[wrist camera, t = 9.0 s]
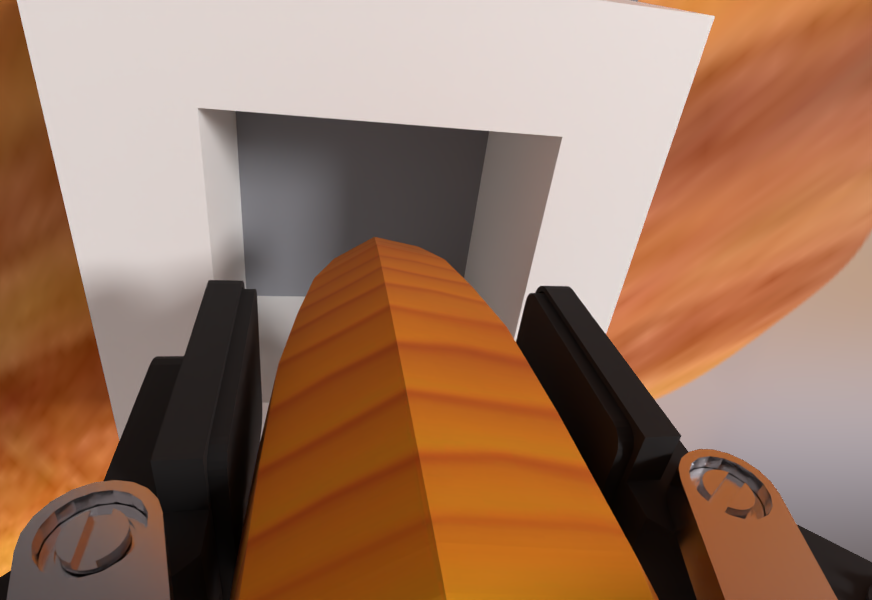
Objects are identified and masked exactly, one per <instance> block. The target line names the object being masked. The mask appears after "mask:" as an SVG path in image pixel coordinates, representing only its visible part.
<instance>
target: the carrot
mask: <svg viewBox="0 0 872 600" xmlns="http://www.w3.org/2000/svg"><path fill="white" fill-rule="evenodd" d="M230 600H659V599H658V597H657V595H656V593H655V591H654V589H653V587H652V585H651V583H650V581H649V580H648V578H647V576H646V574H645V572H644V570H643V568H642V566H641V564H640V563H639V561H638V559H637V557H636V555H635V553H634V551H633V549H632V548H631V546H630V544H629V542H628V540H627V538H626V537H625V535H624V533H623V531H622V529H621V527H620V526H619V524H618V522H617V520H616V518H615V516H614V515H613V513H612V511H611V509H610V507H609V505H608V504H607V502H606V500H605V498H604V496H603V494H602V493H601V491H600V489H599V487H598V485H597V483H596V482H595V480H594V478H593V476H592V474H591V473H590V471H589V469H588V467H587V465H586V463H585V462H584V460H583V458H582V456H581V454H580V452H579V451H578V449H577V447H576V445H575V443H574V441H573V440H572V438H571V436H570V434H569V432H568V430H567V429H566V427H565V425H564V423H563V421H562V419H561V418H560V416H559V414H558V412H557V410H556V409H555V407H554V405H553V404H552V402H551V400H550V399H549V397H548V395H547V394H546V392H545V390H544V389H543V387H542V385H541V384H540V382H539V380H538V378H537V377H536V375H535V373H534V372H533V370H532V368H531V367H530V365H529V363H528V362H527V360H526V358H525V357H524V355H523V353H522V352H521V350H520V348H519V347H518V345H517V343H516V342H515V340H514V338H513V337H512V335H511V333H510V332H509V330H508V328H507V327H506V325H505V324H504V323H503V322H502V321H501V320H500V318H499V317H498V316H497V315H496V314H495V313H494V311H493V310H492V309H491V308H490V307H489V306H488V304H487V303H486V302H485V301H484V300H483V299H482V297H481V296H480V295H479V294H478V293H477V292H476V290H475V289H474V288H473V287H472V286H471V285H470V284H469V283H468V282H467V281H466V280H465V279H464V278H463V277H462V276H461V275H460V274H459V273H458V272H457V271H456V270H455V269H454V268H453V267H452V266H451V265H450V264H449V263H448V262H447V261H446V260H445V259H443V258H441V257H439V256H437V255H435V254H433V253H431V252H429V251H427V250H425V249H423V248H420V247H418V246H414V245H409V244H405V243H400V242H396V241H391V240H387V239H383V238H378V237H373V238H371V239H369V240H367V241H366V242H364V243H362V244H360V245H358V246H356V247H355V248H353V249H351V250H349V251H347V252H345V253H343V254H342V255H340V256H338V257H336V258H334V259H333V260H332V261H331V262H330V263H329V264H328V265H327V266H326V267H325V268H324V269H323V270H322V271H321V272H320V273H319V274H318V275H317V276H316V277H315V278H314V280H313V282H312V284H311V286H310V288H309V290H308V292H307V294H306V296H305V299H304V301H303V303H302V305H301V307H300V309H299V311H298V313H297V316H296V319H295V321H294V324H293V327H292V329H291V332H290V334H289V337H288V340H287V342H286V345H285V348H284V350H283V353H282V356H281V358H280V361H279V364H278V368H277V372H276V377H275V381H274V385H273V389H272V394H271V398H270V402H269V406H268V411H267V415H266V419H265V423H264V428H263V432H262V436H261V440H260V445H259V449H258V453H257V458H256V463H255V468H254V473H253V478H252V483H251V488H250V494H249V499H248V504H247V509H246V514H245V519H244V524H243V529H242V534H241V539H240V544H239V550H238V555H237V561H236V566H235V570H234V576H233V582H232V588H231V594H230Z"/></svg>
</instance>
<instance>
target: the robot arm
mask: <svg viewBox="0 0 872 600" xmlns="http://www.w3.org/2000/svg"><path fill="white" fill-rule="evenodd" d="M516 343H517V345H518V347H519V348H520V350H521V352H522V353H523V355H524V357H525V358H526V360H527V362H528V363H529V365H530V367H531V368H532V370H533V372H534V373H535V375H536V377H537V378H538V380H539V382H540V384H541V385H542V387H543V389H544V390H545V392H546V394H547V395H548V397H549V399H550V400H551V402H552V404H553V405H554V407H555V409H556V410H557V412H558V414H559V416H560V418H561V419H562V421H563V423H564V425H565V427H566V429H567V430H568V432H569V434H570V436H571V438H572V440H573V441H574V443H575V445H576V447H577V449H578V451H579V452H580V454H581V456H582V458H583V460H584V462H585V463H586V465H587V467H588V469H589V471H590V473H591V474H592V476H593V478H594V480H595V482H596V483H597V485H598V487H599V489H600V491H601V493H602V494H603V496H604V498H605V500H606V502H607V504H608V505H609V507H610V509H611V511H612V513H613V515H614V516H615V518H616V520H617V522H618V524H619V526H620V527H621V529H622V531H623V533H624V535H625V537H626V538H627V540H628V542H629V544H630V546H631V548H632V549H633V551H634V553H635V555H636V557H637V559H638V561H639V563H640V564H641V566H642V568H643V570H644V572H645V574H646V576H647V578H648V580H649V581H650V583H651V585H652V587H653V589H654V591H655V593H656V595H657V597H658V599H659V600H872V562H870V561H868V560H866V559H864V558H862V557H860V556H858V555H856V554H854V553H852V552H850V551H848V550H846V549H844V548H842V547H840V546H838V545H836V544H834V543H832V542H831V541H828V540H827V539H825V538H823V537H821V536H819V535H817V534H815V533H813V532H811V531H809V530H807V529H805V528H803V527H801V526H799V525H797V524H796V523H795V521H794V519H793V517H792V515H791V514H790V512H789V510H788V508H787V506H786V504H785V503H784V501H783V499H782V497H781V495H780V493H779V492H778V491H777V489H776V488H775V487H774V485H773V484H772V482H771V481H770V480H769V479H768V478H767V477H766V476H764V475H763V474H762V473H761V472H760V471H759V470H758V469H756V468H755V467H753V466H752V465H750V464H749V463H747V462H745V461H744V460H742V459H740V458H737V457H735V456H733V455H731V454H728V453H725V452H721V451H717V450H713V449H698V450H694V451H690V452H688V451H687V450H686V448H685V447H684V446H683V444H682V443H681V442H680V440H679V439H680V437H681V435H680V434H679V432H678V431H677V430H676V428H675V427H674V426H673V424H672V423H671V422H670V420H669V419H668V418H667V416H666V415H665V413H664V412H663V411H662V409H661V408H660V407H659V405H658V404H657V403H656V401H655V400H654V399H653V397H652V396H651V395H650V393H649V392H648V391H647V389H646V388H645V386H644V385H643V384H642V382H641V381H640V380H639V378H638V377H637V376H636V374H635V373H634V372H633V370H632V369H631V368H630V366H629V365H628V364H627V362H626V361H625V360H624V358H623V357H622V355H621V354H620V353H619V351H618V350H617V349H616V347H615V346H614V345H613V343H612V342H611V341H610V339H609V338H608V337H607V335H606V334H605V333H604V331H603V330H602V329H601V327H600V326H599V324H598V323H597V322H596V320H595V319H594V318H593V316H592V315H591V314H590V312H589V311H588V310H587V308H586V307H585V306H584V304H583V303H582V302H581V300H580V299H579V298H578V296H577V295H576V293H575V292H574V291H573V289H572V288H570V287H569V286H540V287H538V288H537V290H536V292H535V293H530V294H529V295H528V296H527V299H526V302H525V306H524V310H523V314H522V319H521V323H520V327H519V331H518V335H517V339H516ZM261 429H262V387H261V367H260V346H259V325H258V304H257V291H256V289H245V285H244V281H237V280H209V281H208V283H207V286H206V289H205V292H204V295H203V299H202V302H201V305H200V308H199V311H198V314H197V317H196V320H195V323H194V327H193V330H192V333H191V336H190V339H189V342H188V345H187V348H186V352H185V355H184V356H156V357H155V358H153V360H152V361H151V363H150V365H149V368H148V370H147V373H146V375H145V378H144V380H143V383H142V385H141V388H140V390H139V393H138V395H137V398H136V401H135V403H134V406H133V408H132V411H131V413H130V416H129V418H128V421H127V423H126V426H125V428H124V431H123V433H122V436H121V438H120V441H119V444H118V446H117V449H116V451H115V454H114V456H113V459H112V461H111V464H110V466H109V469H108V471H107V474H106V476H105V479H104V481H103V482H96V483H91V484H88V485H85V486H82V487H79V488H76V489H73V490H71V491H69V492H67V493H66V494H64V495H62V496H60V497H58V498H57V499H55V500H53V501H51V502H50V503H49V504H48V505H46V506H45V507H44V508H43V509H42V510H40V511H39V512H38V513H37V514H36V515H34V516H33V518H32V519H31V520H30V522H29V523H28V524H27V526H26V527H25V528H24V530H23V531H22V532H21V533H20V536H19V539H18V542H17V544H16V547H15V550H14V554H13V561H12V567H11V571H10V572H8V573H6V574H5V575H3V576H2V577H0V600H230V594H231V588H232V582H233V576H234V570H235V566H236V561H237V555H238V550H239V544H240V539H241V534H242V529H243V524H244V519H245V514H246V509H247V504H248V499H249V494H250V488H251V483H252V478H253V473H254V468H255V463H256V458H257V453H258V449H259V445H260V438H261Z"/></svg>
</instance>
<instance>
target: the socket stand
mask: <svg viewBox="0 0 872 600" xmlns="http://www.w3.org/2000/svg"><path fill="white" fill-rule="evenodd" d="M637 1H638V0H17V3H18V8H19V12H20V16H21V21H22V25H23V29H24V33H25V38H26V42H27V46H28V51H29V55H30V59H31V63H32V68H33V72H34V76H35V81H36V85H37V89H38V93H39V98H40V102H41V106H42V110H43V115H44V119H45V123H46V128H47V132H48V136H49V140H50V145H51V149H52V153H53V158H54V162H55V166H56V170H57V175H58V179H59V183H60V188H61V192H62V196H63V200H64V205H65V209H66V213H67V218H68V222H69V226H70V230H71V235H72V239H73V243H74V248H75V252H76V256H77V260H78V265H79V269H80V273H81V278H82V282H83V286H84V290H85V295H86V299H87V303H88V307H89V312H90V316H91V320H92V325H93V329H94V333H95V337H96V342H97V346H98V350H99V355H100V359H101V363H102V367H103V372H104V376H105V380H106V385H107V389H108V393H109V397H110V402H111V406H112V410H113V415H114V419H115V423H116V427H117V432H118V436H119V440H120V438H121V436H122V433H123V431H124V428H125V426H126V423H127V421H128V418H129V416H130V413H131V411H132V408H133V406H134V403H135V401H136V398H137V395H138V393H139V390H140V388H141V385H142V383H143V380H144V378H145V375H146V373H147V370H148V368H149V365H150V363H151V361H152V360H153V358H155V357H156V356H184V355H185V352H186V348H187V345H188V342H189V339H190V336H191V333H192V330H193V327H194V323H195V320H196V317H197V314H198V311H199V308H200V305H201V302H202V299H203V295H204V292H205V289H206V286H207V283H208V281H209V280H237V281H244V285H245V289H256V291H257V304H258V325H259V346H260V367H261V387H262V429H261V436H262V432H263V428H264V423H265V419H266V415H267V411H268V406H269V402H270V398H271V394H272V389H273V385H274V381H275V377H276V372H277V368H278V364H279V361H280V358H281V356H282V353H283V350H284V348H285V345H286V342H287V340H288V337H289V334H290V332H291V329H292V327H293V324H294V321H295V319H296V316H297V313H298V311H299V309H300V307H301V305H302V303H303V301H304V299H305V296H306V294H307V292H308V290H309V288H310V286H311V284H312V282H313V280H314V278H315V277H316V276H317V275H318V274H319V273H320V272H321V271H322V270H323V269H324V268H325V267H326V266H327V265H328V264H329V263H330V262H331V261H332V260H333V259H334V258H336V257H338V256H340V255H342V254H343V253H345V252H347V251H349V250H351V249H353V248H355V247H356V246H358V245H360V244H362V243H364V242H366V241H367V240H369V239H371V238H373V237H378V238H383V239H387V240H391V241H396V242H400V243H405V244H409V245H414V246H418V247H420V248H423V249H425V250H427V251H429V252H431V253H433V254H435V255H437V256H439V257H441V258H443V259H445V260H446V261H447V262H448V263H449V264H450V265H451V266H452V267H453V268H454V269H455V270H456V271H457V272H458V273H459V274H460V275H461V276H462V277H463V278H464V279H465V280H466V281H467V282H468V283H469V284H470V285H471V286H472V287H473V288H474V289H475V290H476V292H477V293H478V294H479V295H480V296H481V297H482V299H483V300H484V301H485V302H486V303H487V304H488V306H489V307H490V308H491V309H492V310H493V311H494V313H495V314H496V315H497V316H498V317H499V318H500V320H501V321H502V322H503V323H504V324H505V325H506V327H507V328H508V330H509V332H510V333H511V335H512V337H513V338H514V340H515V342H516V339H517V335H518V331H519V327H520V323H521V319H522V314H523V310H524V306H525V302H526V299H527V296H528V295H529V294H530V293H535V292H536V290H537V288H538V287H540V286H569V287H570V288H572V289H573V291H574V292H575V293H576V295H577V296H578V298H579V299H580V300H581V302H582V303H583V304H584V306H585V307H586V308H587V310H588V311H589V312H590V314H591V315H592V316H593V318H594V319H595V320H596V322H597V323H598V324H599V326H600V327H601V329H602V330H603V331H604V333H605V334H606V333H607V330H608V327H609V324H610V321H611V318H612V315H613V312H614V309H615V306H616V303H617V301H618V298H619V295H620V292H621V289H622V286H623V283H624V280H625V277H626V274H627V271H628V268H629V266H630V263H631V260H632V257H633V254H634V251H635V248H636V245H637V242H638V239H639V236H640V233H641V231H642V228H643V225H644V222H645V219H646V216H647V213H648V210H649V207H650V204H651V201H652V198H653V195H654V193H655V190H656V187H657V184H658V181H659V178H660V175H661V172H662V169H663V166H664V163H665V160H666V158H667V155H668V152H669V149H670V146H671V143H672V140H673V137H674V134H675V131H676V128H677V125H678V123H679V120H680V117H681V114H682V111H683V108H684V105H685V102H686V99H687V96H688V93H689V90H690V88H691V85H692V82H693V79H694V76H695V73H696V70H697V67H698V64H699V61H700V58H701V55H702V52H703V50H704V47H705V44H706V41H707V38H708V35H709V32H710V29H711V26H712V23H713V20H714V17H715V16H711V15H706V14H701V13H695V12H690V11H685V10H679V9H674V8H669V7H663V6H658V5H653V4H647V3H642V2H637ZM260 440H261V438H260Z"/></svg>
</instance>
